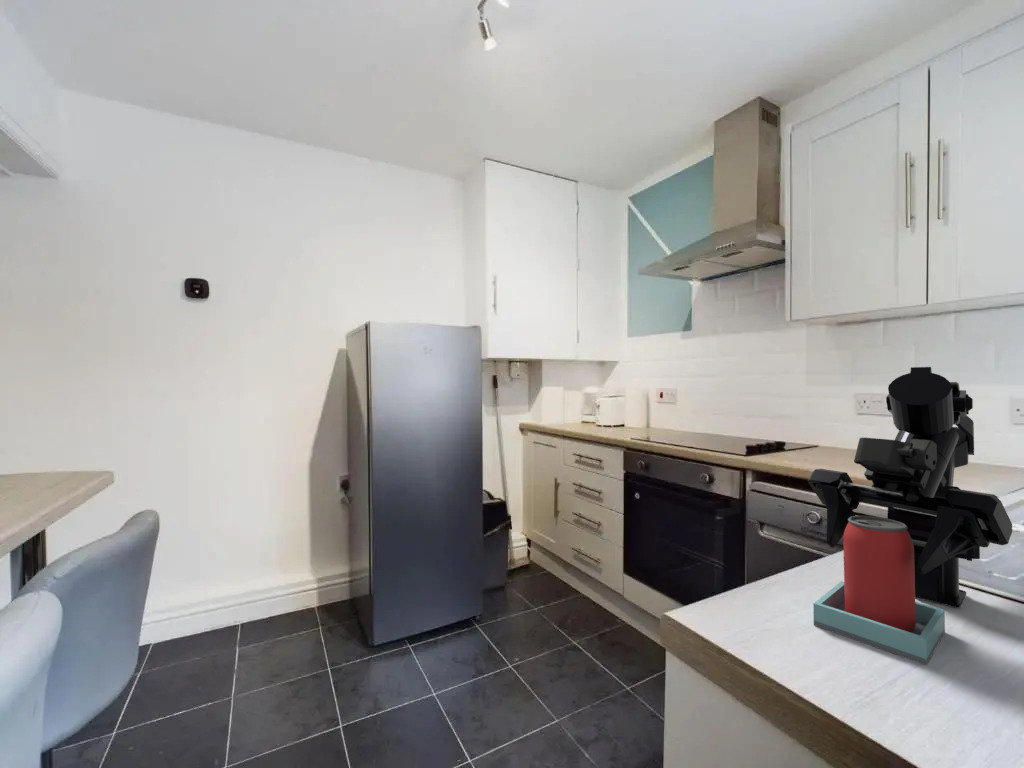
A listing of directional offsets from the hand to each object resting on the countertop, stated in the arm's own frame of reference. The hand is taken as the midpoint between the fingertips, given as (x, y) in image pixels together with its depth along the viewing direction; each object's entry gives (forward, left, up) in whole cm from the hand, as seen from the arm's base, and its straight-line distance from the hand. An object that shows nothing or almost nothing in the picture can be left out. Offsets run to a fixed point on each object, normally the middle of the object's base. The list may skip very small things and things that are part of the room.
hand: (871, 557), depth 53 cm
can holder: (-1, 0, -9) cm, 9 cm away
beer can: (-2, 0, -8) cm, 8 cm away
